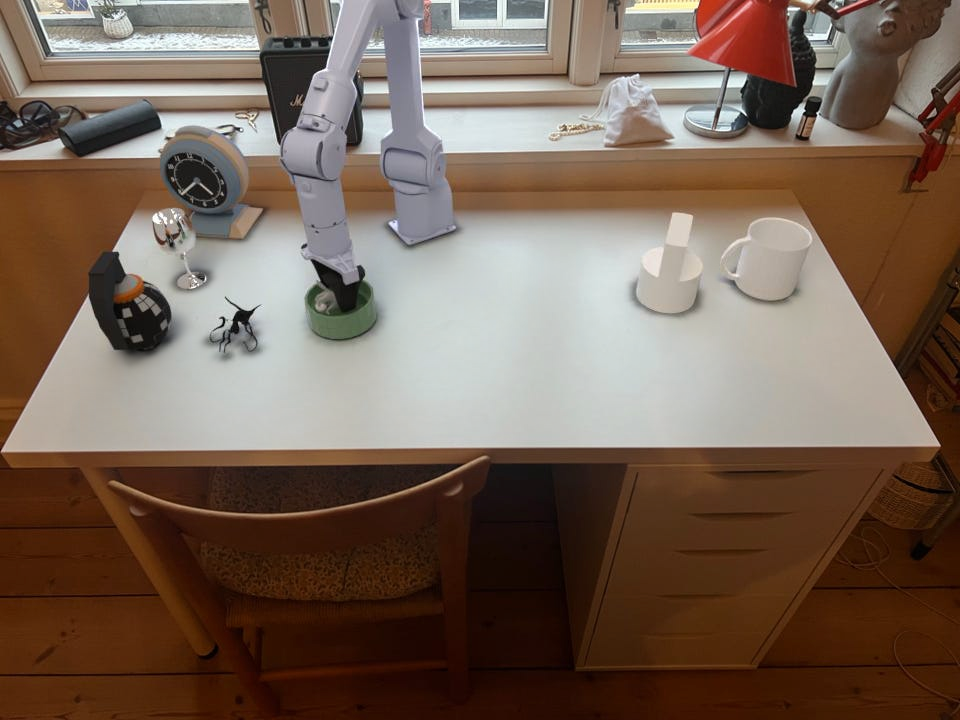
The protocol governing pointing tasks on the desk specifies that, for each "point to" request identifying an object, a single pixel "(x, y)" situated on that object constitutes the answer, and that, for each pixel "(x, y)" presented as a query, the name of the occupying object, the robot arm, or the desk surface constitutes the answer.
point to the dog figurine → (326, 300)
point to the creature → (238, 317)
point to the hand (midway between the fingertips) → (339, 297)
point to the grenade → (127, 306)
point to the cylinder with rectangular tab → (670, 271)
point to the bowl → (342, 314)
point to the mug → (769, 258)
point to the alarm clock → (209, 181)
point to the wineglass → (177, 241)
